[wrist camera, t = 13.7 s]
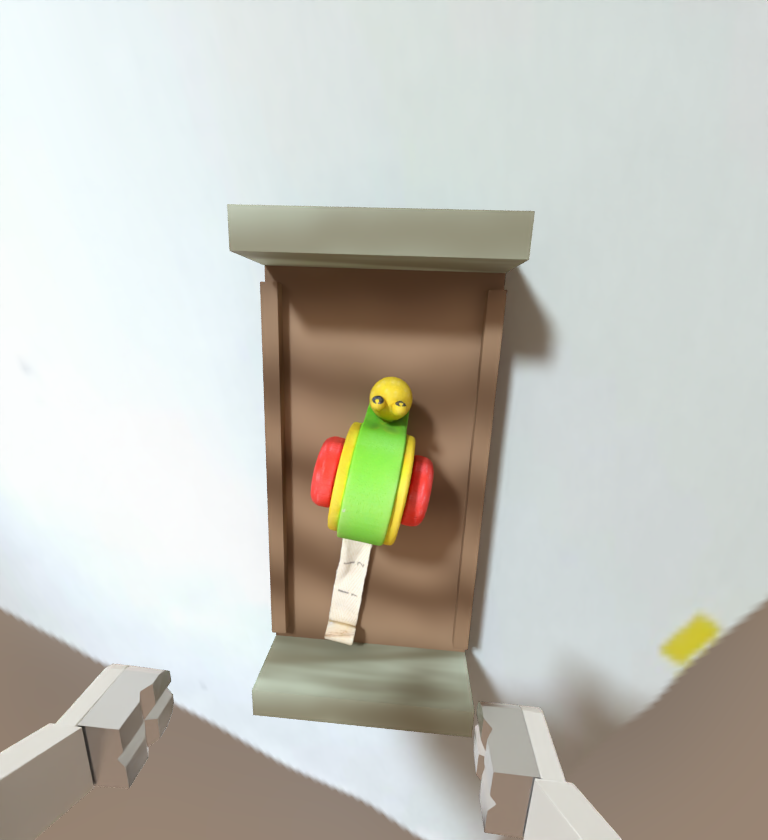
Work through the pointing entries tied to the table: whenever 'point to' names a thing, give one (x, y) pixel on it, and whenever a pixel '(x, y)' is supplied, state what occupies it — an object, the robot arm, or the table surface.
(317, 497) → the toy measuring tape
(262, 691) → the wooden tray
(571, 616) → the table surface
